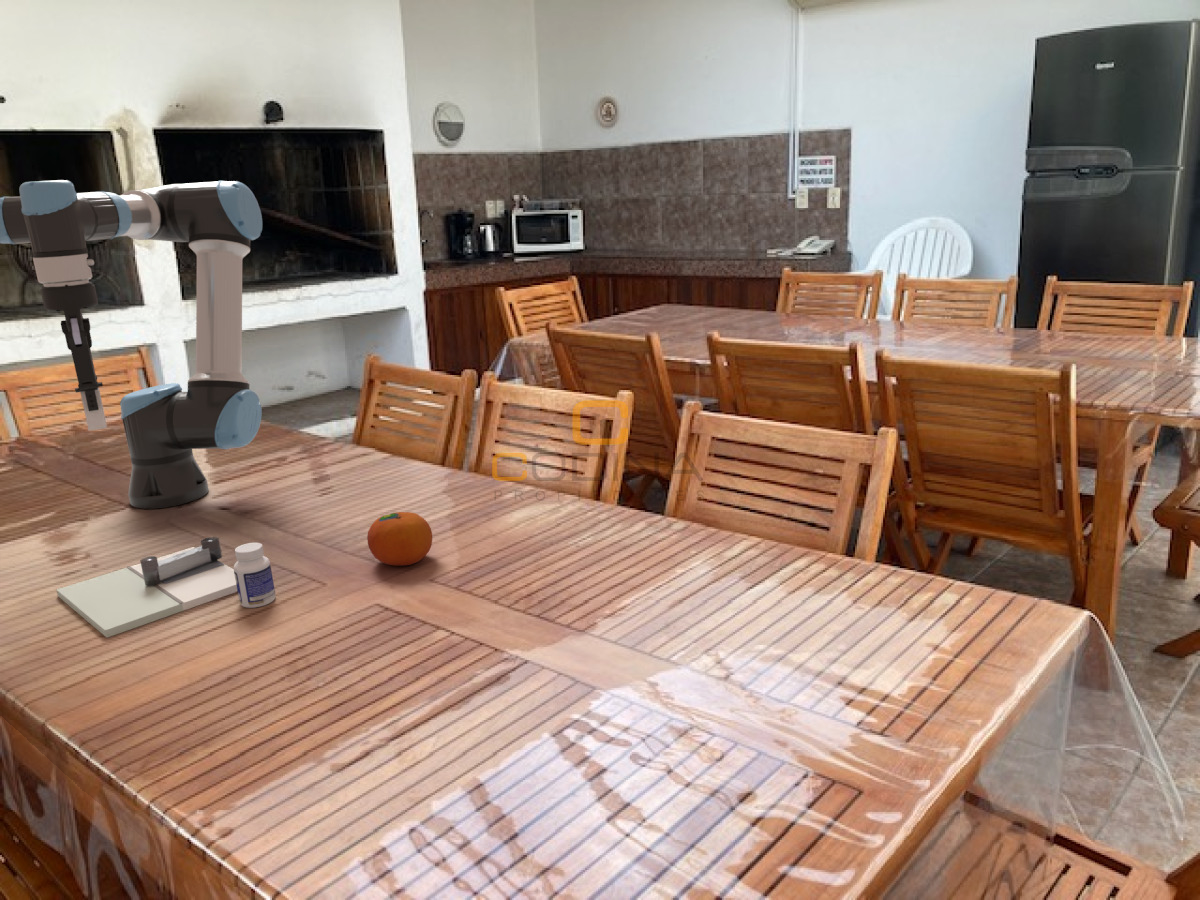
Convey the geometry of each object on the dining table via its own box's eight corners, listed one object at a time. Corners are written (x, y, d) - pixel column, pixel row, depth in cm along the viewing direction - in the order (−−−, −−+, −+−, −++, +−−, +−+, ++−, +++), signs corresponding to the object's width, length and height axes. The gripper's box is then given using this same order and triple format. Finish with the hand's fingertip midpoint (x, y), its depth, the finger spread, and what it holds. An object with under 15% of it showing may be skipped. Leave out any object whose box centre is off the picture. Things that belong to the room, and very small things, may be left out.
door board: (194, 553, 164) (193, 545, 164) (252, 586, 149) (251, 578, 149) (58, 596, 149) (56, 588, 149) (106, 637, 134) (104, 629, 134)
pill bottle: (283, 595, 145) (274, 542, 143) (261, 610, 140) (251, 555, 138) (255, 592, 147) (245, 539, 144) (232, 606, 142) (222, 552, 140)
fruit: (447, 553, 158) (442, 508, 156) (410, 577, 149) (404, 531, 147) (395, 546, 163) (390, 502, 160) (357, 569, 154) (350, 523, 151)
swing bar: (150, 587, 147) (145, 563, 146) (141, 583, 149) (136, 560, 148) (225, 558, 157) (221, 536, 156) (216, 555, 159) (212, 533, 158)
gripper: (93, 284, 143) (124, 433, 149) (93, 277, 154) (122, 416, 160) (37, 289, 139) (71, 441, 146) (41, 282, 150) (72, 424, 157)
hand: (97, 428), depth 153 cm, fingers closed
